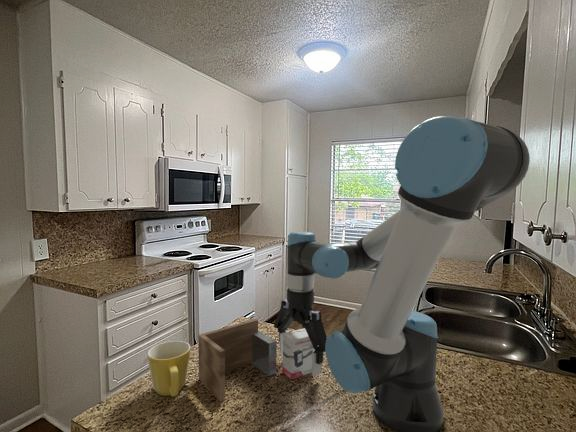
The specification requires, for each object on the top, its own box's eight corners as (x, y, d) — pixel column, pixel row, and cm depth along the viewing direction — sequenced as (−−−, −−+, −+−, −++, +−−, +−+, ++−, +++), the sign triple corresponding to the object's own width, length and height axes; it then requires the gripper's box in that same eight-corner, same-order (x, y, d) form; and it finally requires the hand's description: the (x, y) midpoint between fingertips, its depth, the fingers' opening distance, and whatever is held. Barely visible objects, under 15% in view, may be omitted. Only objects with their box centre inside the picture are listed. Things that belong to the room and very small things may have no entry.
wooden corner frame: (280, 379, 86) (281, 332, 85) (220, 406, 74) (220, 352, 74) (255, 361, 95) (255, 319, 94) (198, 383, 84) (198, 334, 83)
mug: (150, 381, 84) (150, 342, 84) (190, 375, 87) (190, 338, 87) (142, 414, 71) (142, 369, 71) (190, 406, 74) (190, 363, 74)
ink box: (291, 383, 84) (292, 340, 83) (281, 375, 88) (282, 333, 87) (317, 374, 88) (317, 333, 88) (306, 366, 93) (306, 326, 92)
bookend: (276, 373, 87) (276, 341, 86) (268, 376, 85) (269, 343, 85) (259, 361, 93) (259, 331, 92) (252, 364, 91) (252, 333, 91)
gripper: (344, 297, 80) (342, 378, 81) (282, 277, 99) (281, 343, 100) (324, 303, 75) (322, 389, 76) (263, 280, 94) (262, 350, 95)
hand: (299, 363), depth 88 cm, fingers open, 13 cm apart
